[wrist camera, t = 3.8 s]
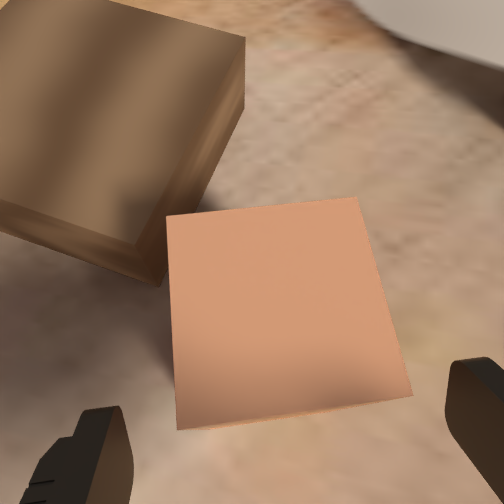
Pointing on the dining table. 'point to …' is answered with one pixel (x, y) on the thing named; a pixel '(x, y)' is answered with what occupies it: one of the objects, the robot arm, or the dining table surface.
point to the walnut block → (110, 126)
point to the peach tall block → (278, 315)
